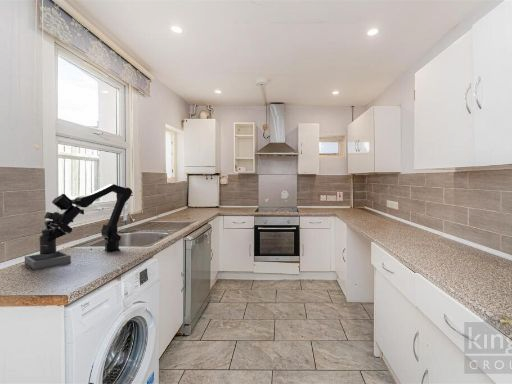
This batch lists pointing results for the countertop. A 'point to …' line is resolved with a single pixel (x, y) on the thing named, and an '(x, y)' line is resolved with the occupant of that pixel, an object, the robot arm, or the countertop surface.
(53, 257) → the housing
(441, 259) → the countertop surface
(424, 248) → the countertop surface
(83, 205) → the robot arm
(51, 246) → the supplement bottle
